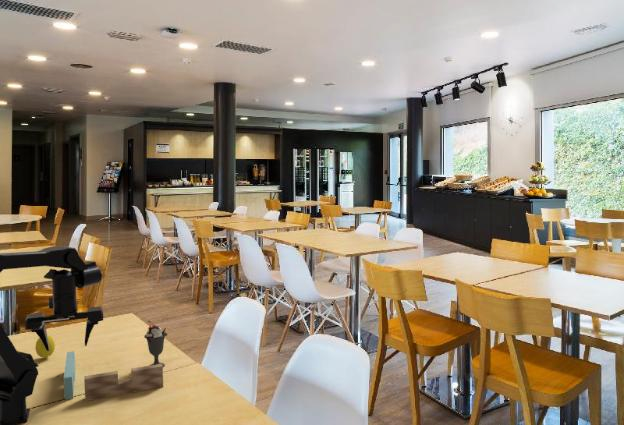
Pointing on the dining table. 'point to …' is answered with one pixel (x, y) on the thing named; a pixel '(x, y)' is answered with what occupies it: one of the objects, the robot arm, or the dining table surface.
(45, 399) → the dining table surface
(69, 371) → the teal slotted plate
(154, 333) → the sundae
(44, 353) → the lemon
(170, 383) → the dining table surface
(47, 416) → the dining table surface
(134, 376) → the walnut slotted plate
